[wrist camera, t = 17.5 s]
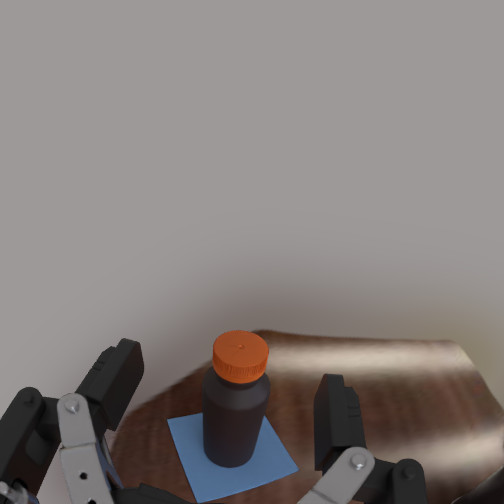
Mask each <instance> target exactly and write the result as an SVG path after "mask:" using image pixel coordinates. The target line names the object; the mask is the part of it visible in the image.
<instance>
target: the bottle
mask: <svg viewBox="0 0 504 504" xmlns="http://www.w3.org/2000/svg"><path fill="white" fill-rule="evenodd" d="M268 354H269V349H268V346H267V344H266V342H265V341H264V340H263V339H262V338H261V337H260V336H258V335H256V334H254V333H251V332H248V331H241V330H238V331H237V330H236V331H230V332H226V333H224V334H222V335H220V336H219V337H218V338H217V339H216V340H215V343H214V345H213V361H212V363H213V366H212V367H210V368H209V370H208V371H207V372H206V373H205V375H204V379H203V382H202V411H203V447H204V452H205V454H206V456H207V457H208V459H209V460H210V461H212V462H213V463H214V464H216V465H218V466H220V467H225V468H235V467H239V466H242V465H244V464H245V463H247V462H248V461H249V460H250V459H251V457H252V455H253V453H254V450H255V446H256V443H257V439H258V436H259V432H260V429H261V425H262V421H263V418H264V414H265V410H266V407H267V403H268V399H269V395H270V382H269V379H268V376H267V375H266V374H265V372H264V371H265V369H266V364H267V359H268Z"/></svg>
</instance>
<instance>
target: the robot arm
mask: <svg viewBox="0 0 504 504" xmlns="http://www.w3.org/2000/svg"><path fill="white" fill-rule="evenodd" d="M143 373H144V362H143V357H142V352H141V346H140V343H139V342H137V341H133V340H129V339H125V338H123V339H121V341H120V342H119V344H118V345H117V347H112V346H111V347H109V348H108V349H106V350H105V351H103V352H102V353H101V355H100V356H99V358H98V359H97V362H95V363H94V365H93V366H92V368H91V369H90V371H89V372H88V374H87V375H86V377H85V378H84V380H83V381H82V383H81V384H80V386H79V387H78V389H77V390H76V391H75V393H69V394H66V395H64V396H62V397H61V398H60V399H56V398H49V397H42V395H41V394H40V392H39V391H38V390H37V389H35V388H33V387H26V388H24V389H22V390H20V391H19V392H18V393H17V395H16V397H15V398H14V399H13V401H12V402H11V404H10V406H9V407H8V408H7V410H6V412H5V413H4V415H3V416H2V418H1V420H0V504H39V501H38V499H37V497H36V496H37V494H38V491H39V489H40V486H41V484H42V482H43V480H44V477H45V475H46V473H47V470H48V468H49V466H50V464H51V462H52V459H53V457H54V455H55V453H56V451H57V449H58V447H59V445H60V443H61V442H62V445H63V447H62V448H60V451H59V452H60V459H61V463H62V468H63V472H64V477H65V481H66V485H67V489H68V492H69V496H70V499H71V503H72V504H195V503H190V502H188V501H186V500H183V499H181V498H179V497H177V496H175V495H173V494H171V493H170V492H168V491H166V490H162V489H159V488H155V487H152V486H149V485H146V484H143V483H140V486H139V488H137V487H129V488H124V487H123V485H122V482H121V480H120V478H119V476H118V474H117V472H116V470H115V467H114V464H113V462H112V458H111V455H110V452H109V449H108V446H107V443H106V439H105V436H104V434H105V432H106V429H109V430H112V431H116V429H117V427H118V425H119V422H120V420H121V418H122V416H123V414H124V412H125V410H126V408H127V406H128V404H129V402H130V400H131V398H132V396H133V394H134V392H135V390H136V388H137V387H138V385H139V383H140V381H141V379H142V376H143ZM314 444H315V471H322V478H321V479H320V480H319V481H318V482H317V483H316V485H315V486H314V487H313V488H312V489H311V490H310V491H309V492H308V493H307V494H306V495H305V496H304V497H303V498H302V499H301V500H300V501H299V502H298V503H297V504H348V503H349V501H350V500H351V499H352V500H356V501H360V502H364V504H428V501H427V493H426V485H425V478H424V471H423V468H422V466H421V464H420V463H419V462H417V461H416V460H413V459H403V460H400V461H399V462H398V463H397V464H396V463H391V462H387V461H382V460H379V459H377V458H375V457H373V455H372V454H371V452H370V451H368V450H367V447H366V443H365V436H364V429H363V423H362V417H361V410H360V404H359V399H358V396H357V394H356V392H355V391H354V389H353V388H352V387H344V380H343V376H342V375H338V374H324V375H323V378H322V380H321V383H320V385H319V388H318V390H317V393H316V395H315V399H314ZM206 504H224V503H206ZM451 504H504V465H503V466H502V467H500V468H499V469H498V470H497V471H496V472H494V473H493V474H492V475H491V476H489V477H488V478H487V479H485V480H484V481H483V482H481V483H480V484H479V485H477V486H476V487H475V488H473V489H472V490H470V491H469V492H467V493H466V494H465V495H463V496H461V497H459V498H458V499H456V500H455V501H453V502H452V503H451Z"/></svg>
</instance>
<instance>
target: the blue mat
mask: <svg viewBox="0 0 504 504" xmlns="http://www.w3.org/2000/svg"><path fill="white" fill-rule="evenodd" d="M167 421H168V425H169V428H170V431H171V434H172V437H173V440H174V443H175V446H176V449H177V452H178V454H179V457H180V460H181V463H182V465H183V468H184V471H185V473H186V476H187V478H188V481H189V483H190V486H191V488H192V491H193V493H194V496H195V498H196V500H197V503H202V502H206V501H210V500H214V499H218V498H222V497H226V496H229V495H233V494H236V493H239V492H242V491H246V490H249V489H252V488H255V487H258V486H261V485H263V484H266V483H269V482H272V481H274V480H277V479H280V478H282V477H285V476H287V475H290V474H292V473H295V472H297V471H299V469H298V467H297V466H296V464H295V463H294V461H293V460H292V458H291V457H290V455H289V454H288V452H287V450H286V449H285V447H284V446H283V444H282V443H281V441H280V439H279V438H278V436H277V435H276V433H275V431H274V430H273V428H272V427H271V425H270V423H269V422H268V420H267V418H266V417H265V415H264V418H263V421H262V425H261V429H260V432H259V436H258V439H257V443H256V446H255V450H254V453H253V455H252V457H251V459H250V460H249V461H248V462H247V463H245V464H244V465H242V466H239V467H235V468H225V467H220V466H218V465H216V464H214V463H213V462H212V461H210V460H209V459H208V457H207V456H206V454H205V452H204V447H203V413H199V414H194V415H189V416H184V417H178V418H173V419H167Z"/></svg>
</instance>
